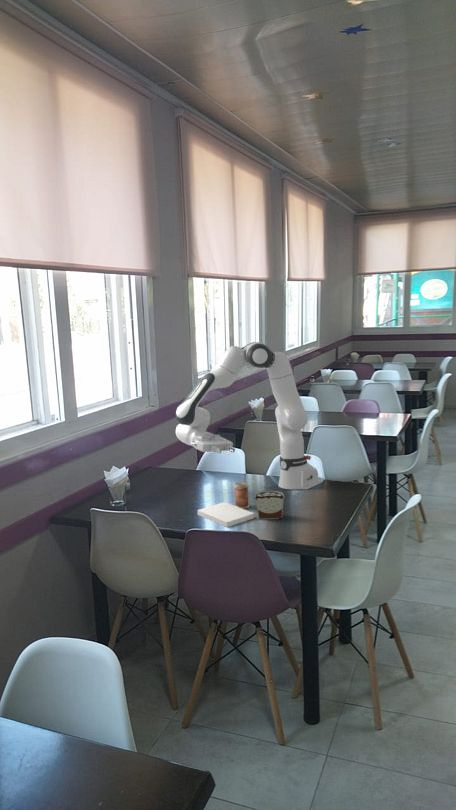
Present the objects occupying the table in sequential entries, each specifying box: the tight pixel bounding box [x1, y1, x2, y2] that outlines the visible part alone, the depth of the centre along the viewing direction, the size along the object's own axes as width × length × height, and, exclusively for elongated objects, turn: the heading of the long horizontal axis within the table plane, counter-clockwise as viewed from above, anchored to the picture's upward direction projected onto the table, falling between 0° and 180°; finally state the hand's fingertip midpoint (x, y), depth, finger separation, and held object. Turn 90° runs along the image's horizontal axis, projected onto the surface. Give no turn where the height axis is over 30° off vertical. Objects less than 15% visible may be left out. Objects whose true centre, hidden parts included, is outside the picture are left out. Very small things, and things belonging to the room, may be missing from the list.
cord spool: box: [233, 481, 250, 510], centre depth 242 cm, size 6×6×10 cm
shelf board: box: [197, 501, 255, 528], centre depth 232 cm, size 14×20×2 cm
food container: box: [253, 490, 286, 520], centre depth 229 cm, size 12×6×10 cm, turn 84°
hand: (227, 451), depth 246 cm, fingers open, 8 cm apart
